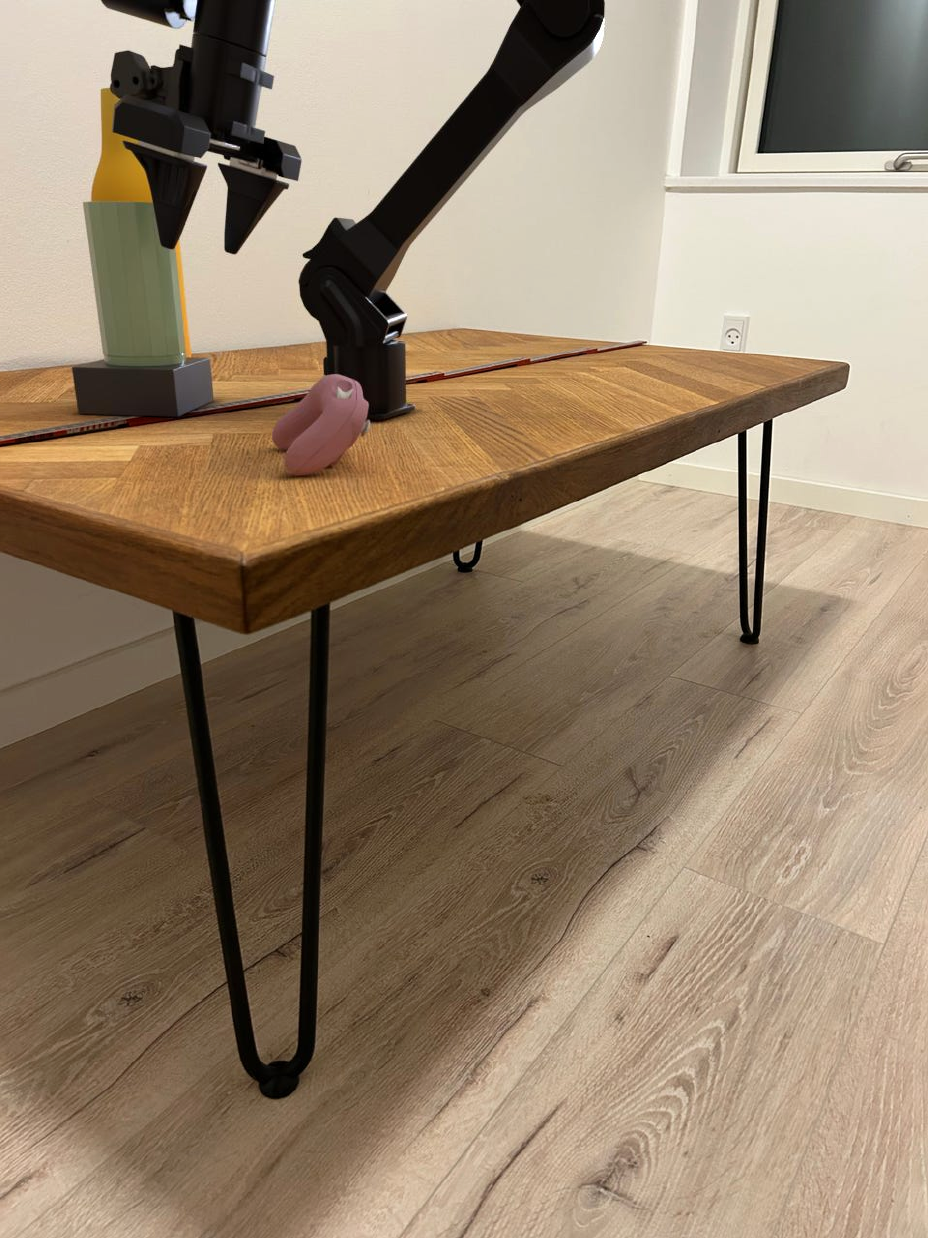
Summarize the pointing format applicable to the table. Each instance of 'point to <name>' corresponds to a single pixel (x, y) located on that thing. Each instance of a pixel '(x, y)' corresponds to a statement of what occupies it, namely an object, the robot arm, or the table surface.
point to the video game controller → (322, 425)
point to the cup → (134, 286)
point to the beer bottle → (126, 182)
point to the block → (143, 388)
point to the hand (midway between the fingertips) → (200, 250)
